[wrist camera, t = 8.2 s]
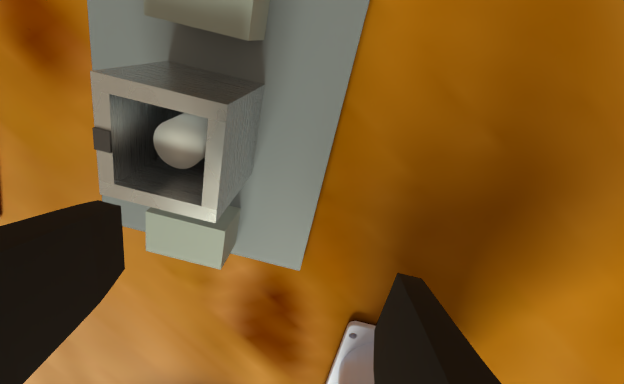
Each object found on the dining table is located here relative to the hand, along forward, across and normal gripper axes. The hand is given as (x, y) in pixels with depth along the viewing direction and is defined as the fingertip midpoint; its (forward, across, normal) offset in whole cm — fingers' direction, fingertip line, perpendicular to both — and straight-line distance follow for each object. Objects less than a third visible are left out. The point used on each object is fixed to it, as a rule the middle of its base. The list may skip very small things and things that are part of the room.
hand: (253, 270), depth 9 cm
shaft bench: (+10, +5, -1) cm, 11 cm away
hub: (+9, +5, -1) cm, 10 cm away
